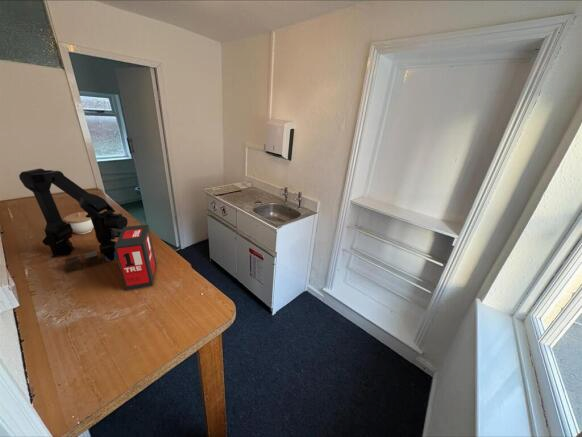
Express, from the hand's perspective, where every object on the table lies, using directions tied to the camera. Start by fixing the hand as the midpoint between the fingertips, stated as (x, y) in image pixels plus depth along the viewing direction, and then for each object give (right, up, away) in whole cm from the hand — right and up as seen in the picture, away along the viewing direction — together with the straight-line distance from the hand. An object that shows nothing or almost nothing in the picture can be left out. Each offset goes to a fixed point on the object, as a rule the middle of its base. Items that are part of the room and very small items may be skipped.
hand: (111, 255), depth 109 cm
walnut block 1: (-10, -4, -8) cm, 13 cm away
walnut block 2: (-5, -2, -4) cm, 7 cm away
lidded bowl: (-31, +10, +20) cm, 38 cm away
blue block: (0, -1, 0) cm, 1 cm away
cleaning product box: (+21, -7, -9) cm, 23 cm away
